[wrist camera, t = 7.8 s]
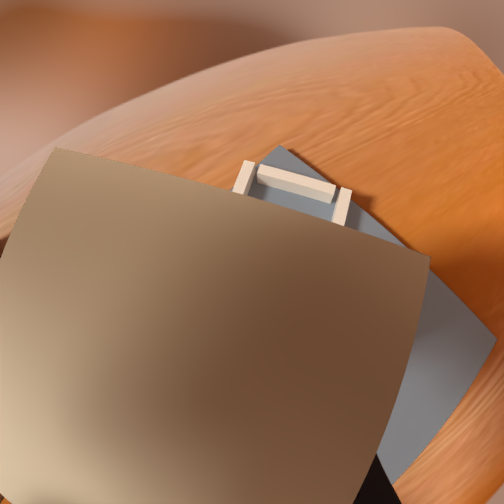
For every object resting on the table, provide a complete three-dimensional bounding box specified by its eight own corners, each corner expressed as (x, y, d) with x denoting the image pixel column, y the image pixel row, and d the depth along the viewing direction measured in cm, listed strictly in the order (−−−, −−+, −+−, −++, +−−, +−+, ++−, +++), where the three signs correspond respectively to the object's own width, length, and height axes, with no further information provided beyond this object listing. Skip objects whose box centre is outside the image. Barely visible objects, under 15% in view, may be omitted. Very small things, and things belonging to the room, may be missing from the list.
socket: (321, 302, 21) (325, 299, 20) (208, 267, 22) (204, 262, 21) (347, 199, 23) (352, 190, 22) (245, 170, 24) (244, 159, 23)
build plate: (377, 490, 18) (382, 494, 17) (144, 283, 23) (139, 281, 22) (490, 340, 21) (497, 339, 20) (279, 151, 26) (279, 144, 25)
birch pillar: (268, 423, 13) (274, 619, 2) (173, 389, 14) (-40, 452, 2) (301, 330, 14) (431, 257, 3) (206, 297, 15) (54, 147, 3)
